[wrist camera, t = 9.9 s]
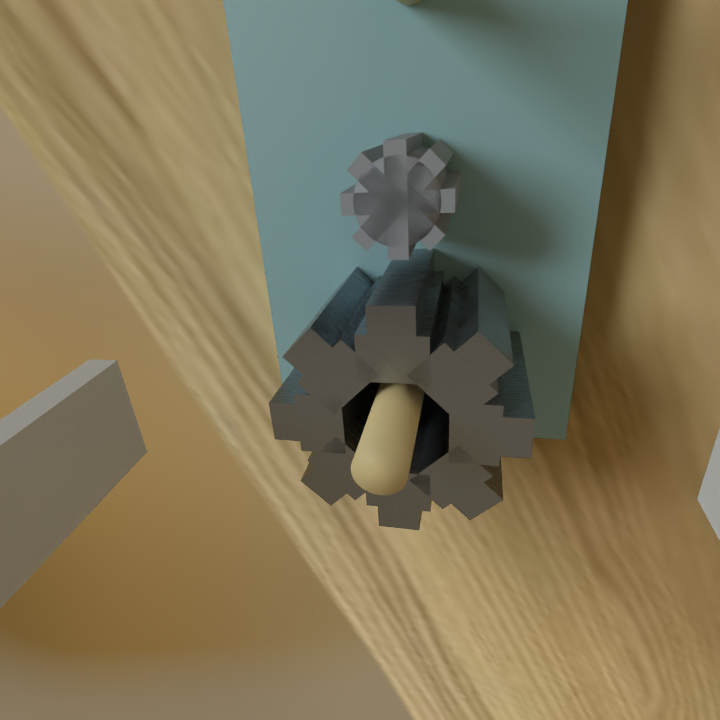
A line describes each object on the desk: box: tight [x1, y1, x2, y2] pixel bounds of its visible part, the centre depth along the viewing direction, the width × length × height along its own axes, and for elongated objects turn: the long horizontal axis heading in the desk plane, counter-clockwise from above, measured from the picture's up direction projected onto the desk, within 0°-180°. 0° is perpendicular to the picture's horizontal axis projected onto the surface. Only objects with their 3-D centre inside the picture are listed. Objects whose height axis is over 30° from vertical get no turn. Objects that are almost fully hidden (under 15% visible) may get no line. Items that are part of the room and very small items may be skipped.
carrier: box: [223, 0, 628, 495], centre depth 12 cm, size 17×10×8 cm, turn 4°
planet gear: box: [269, 248, 535, 530], centre depth 14 cm, size 6×6×5 cm
